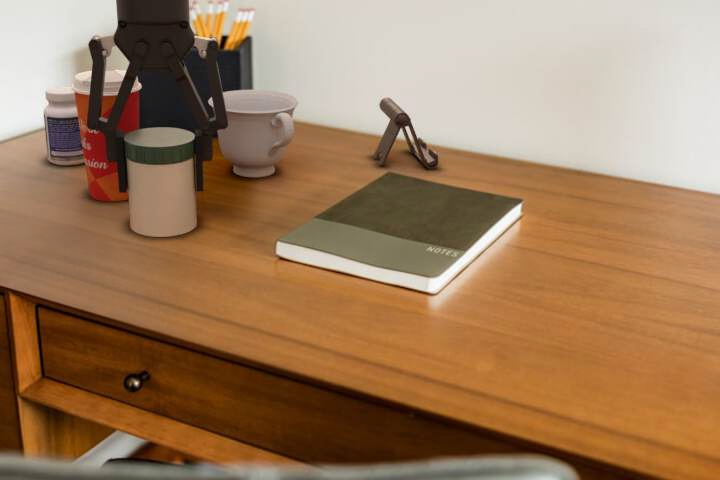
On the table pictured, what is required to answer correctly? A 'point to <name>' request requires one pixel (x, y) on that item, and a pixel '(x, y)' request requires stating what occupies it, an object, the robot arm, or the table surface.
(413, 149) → the tablet stand
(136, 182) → the jar
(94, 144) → the coffee cup
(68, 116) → the pill bottle
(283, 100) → the teacup
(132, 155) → the jar lid
